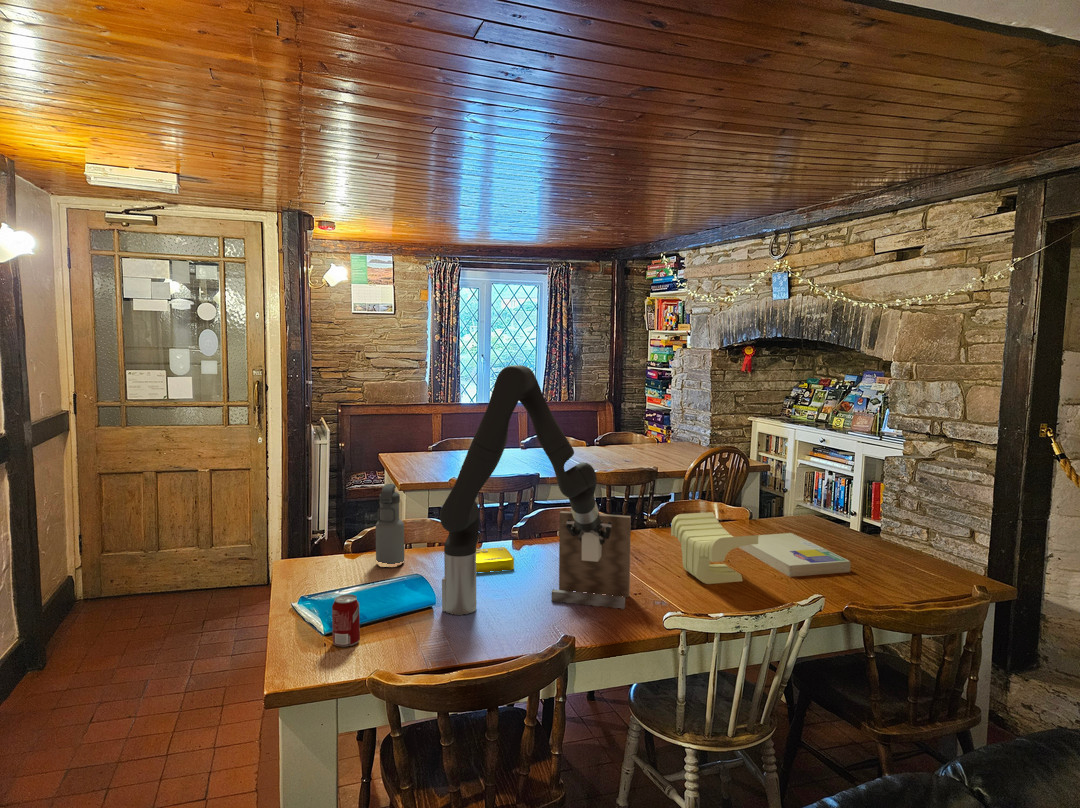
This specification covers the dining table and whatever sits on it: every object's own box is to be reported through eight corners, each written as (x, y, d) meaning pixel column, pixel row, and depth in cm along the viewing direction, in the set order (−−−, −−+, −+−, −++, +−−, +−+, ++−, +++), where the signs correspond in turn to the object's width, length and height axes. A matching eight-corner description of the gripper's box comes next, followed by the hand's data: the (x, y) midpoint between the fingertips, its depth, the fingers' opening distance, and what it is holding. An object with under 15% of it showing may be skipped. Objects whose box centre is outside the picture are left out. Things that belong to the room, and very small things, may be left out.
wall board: (551, 601, 206) (552, 520, 203) (560, 588, 217) (561, 511, 214) (624, 609, 200) (625, 525, 198) (629, 595, 211) (630, 516, 209)
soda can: (349, 650, 172) (348, 604, 171) (327, 646, 175) (326, 600, 173) (365, 639, 178) (364, 595, 177) (344, 635, 181) (343, 591, 180)
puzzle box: (791, 543, 268) (735, 547, 263) (791, 532, 268) (735, 535, 263) (851, 574, 233) (787, 578, 228) (851, 561, 233) (788, 565, 228)
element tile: (472, 575, 230) (472, 561, 229) (464, 561, 244) (464, 548, 244) (515, 571, 234) (515, 557, 233) (505, 558, 248) (505, 545, 248)
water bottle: (400, 569, 234) (399, 489, 231) (372, 569, 234) (371, 488, 232) (407, 559, 244) (406, 483, 242) (380, 559, 244) (378, 482, 242)
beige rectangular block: (581, 560, 205) (581, 524, 204) (585, 554, 210) (585, 519, 210) (597, 561, 203) (598, 525, 202) (601, 555, 209) (601, 520, 208)
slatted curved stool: (670, 563, 241) (671, 514, 240) (711, 560, 245) (712, 512, 243) (710, 594, 212) (712, 538, 211) (756, 590, 216) (758, 535, 214)
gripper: (611, 502, 196) (617, 532, 209) (563, 499, 200) (572, 528, 213) (608, 525, 192) (614, 554, 204) (558, 521, 195) (568, 550, 208)
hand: (592, 541), depth 208 cm, fingers closed on beige rectangular block, 5 cm apart
